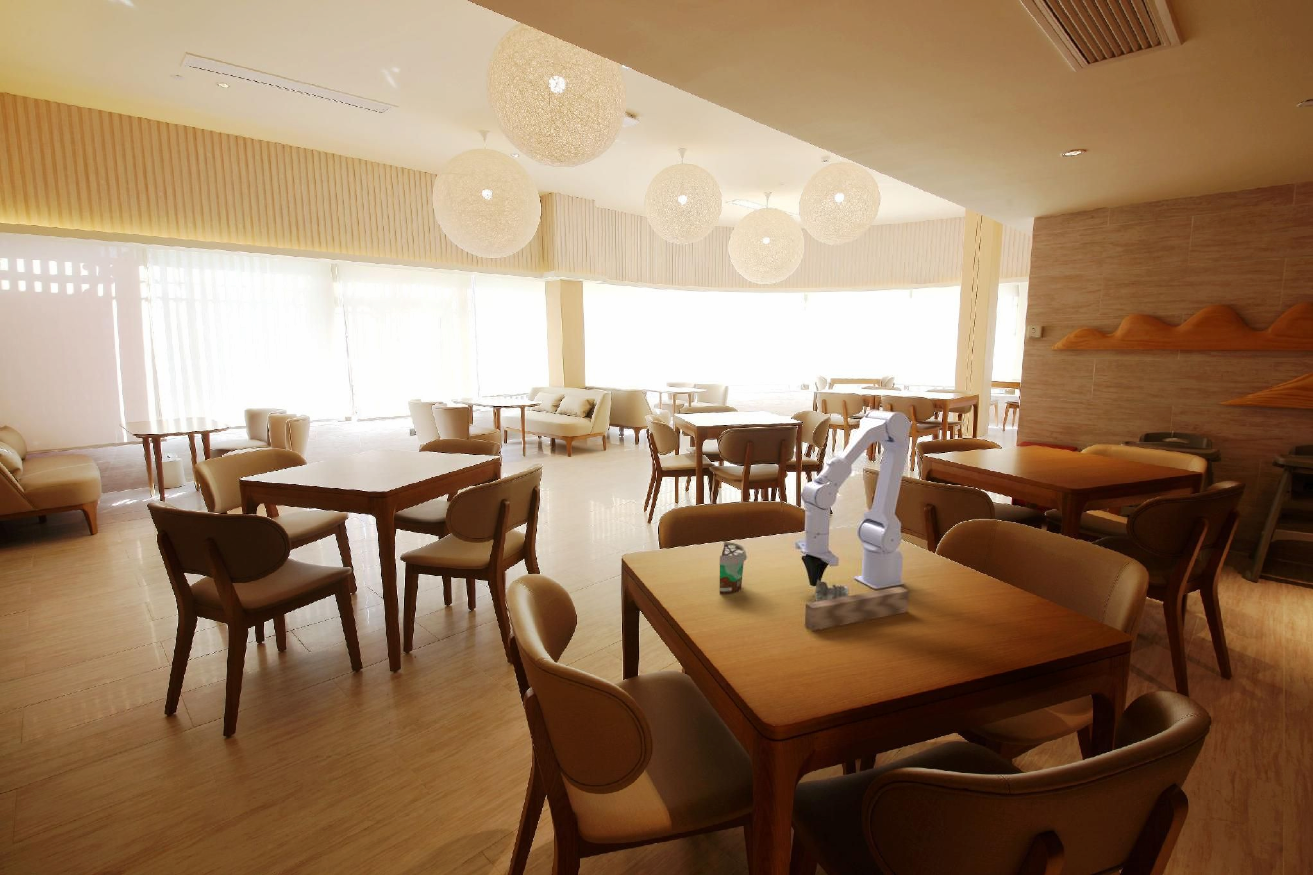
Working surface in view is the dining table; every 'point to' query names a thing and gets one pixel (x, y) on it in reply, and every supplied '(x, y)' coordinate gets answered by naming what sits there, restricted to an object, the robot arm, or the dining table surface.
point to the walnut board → (856, 608)
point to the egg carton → (829, 591)
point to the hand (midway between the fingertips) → (814, 585)
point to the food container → (731, 568)
